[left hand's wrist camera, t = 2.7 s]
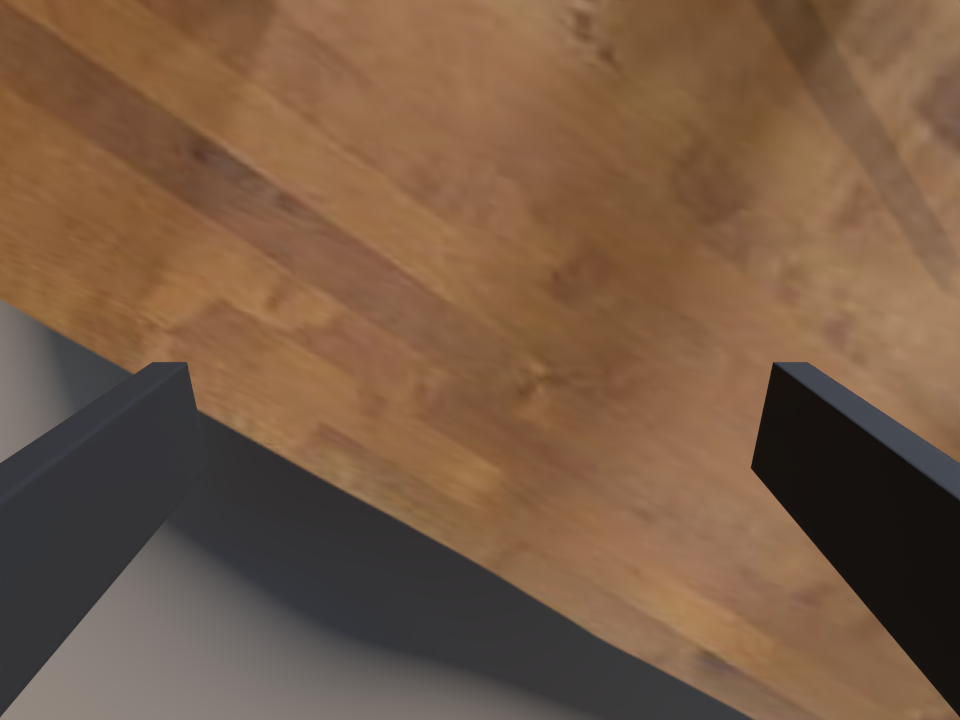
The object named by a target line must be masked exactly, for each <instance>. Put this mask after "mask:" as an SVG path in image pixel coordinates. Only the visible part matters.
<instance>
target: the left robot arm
mask: <svg viewBox="0 0 960 720" xmlns="http://www.w3.org/2000/svg"><path fill="white" fill-rule="evenodd" d="M208 469H209V465H208V460H207V455H206V451H205V446H204V441H203V436H202V432H201V427H200V423H199V418H198V413H197V408H196V403H195V398H194V394H193V389H192V384H191V380H190V375H189V370H188V365H187V362H152V363H151V364H149V365H148V366H146V367H145V368H143V369H142V370H140V371H139V372H137V373H136V374H134V375H133V376H131V377H130V378H128V379H127V380H125V381H124V382H122V383H121V384H119V385H118V386H116V387H115V388H113V389H112V390H110V391H109V392H107V393H106V394H104V395H103V396H101V397H100V398H98V399H97V400H95V401H94V402H92V403H91V404H89V405H88V406H86V407H85V408H83V409H81V410H80V411H78V412H77V413H75V414H74V415H73V416H71V417H70V418H68V419H66V420H65V421H64V422H62V423H60V424H59V425H57V426H56V427H54V428H53V429H51V430H50V431H48V432H47V433H45V434H44V435H42V436H41V437H39V438H38V439H36V440H35V441H33V442H32V443H30V444H29V445H27V446H26V447H24V448H23V449H21V450H20V451H18V452H17V453H15V454H14V455H12V456H11V457H9V458H8V459H6V460H5V461H3V462H2V463H0V717H1V716H2V714H3V713H4V712H5V711H6V710H7V708H8V707H9V706H10V705H11V704H12V702H13V701H14V700H15V699H16V698H17V697H18V695H19V694H20V693H21V692H22V691H23V689H24V688H25V687H26V686H27V685H28V683H29V682H30V681H31V680H32V679H33V677H34V676H35V675H36V674H37V673H38V671H39V670H40V669H41V668H42V667H43V666H44V664H45V663H46V662H47V661H48V660H49V658H50V657H51V656H52V655H53V653H54V652H55V651H56V650H57V649H58V648H59V646H60V645H61V644H62V643H63V642H64V640H65V639H66V638H67V637H68V636H69V634H70V633H71V632H72V631H73V630H74V629H75V627H76V626H77V625H78V624H79V623H80V621H81V620H82V619H83V618H84V617H85V615H86V614H87V613H88V612H89V611H90V609H91V608H92V607H93V606H94V605H95V604H96V602H97V601H98V600H99V599H100V598H101V596H102V595H103V594H104V593H105V592H106V590H107V589H108V588H109V587H110V586H111V584H112V583H113V582H114V581H115V580H116V578H117V577H118V576H119V575H120V574H121V573H122V571H123V570H124V569H125V568H126V567H127V565H128V564H129V563H130V562H131V561H132V559H133V558H134V557H135V556H136V555H137V553H138V552H139V551H140V550H141V549H142V547H143V546H144V545H145V544H146V543H147V541H148V540H149V539H150V538H151V537H152V536H153V534H154V533H155V532H156V531H157V530H158V528H159V527H160V526H161V525H162V524H163V522H164V521H165V520H166V519H167V518H168V516H169V515H170V514H171V513H172V512H173V511H174V509H175V508H176V507H177V506H178V505H179V503H180V502H181V501H182V500H183V499H184V497H185V496H186V495H187V494H188V493H189V491H190V490H191V489H192V488H193V487H194V485H195V484H196V483H197V482H198V481H199V480H200V478H201V477H202V476H203V475H204V474H205V472H206V471H207V470H208ZM751 469H752V470H753V471H754V472H755V474H756V475H757V476H758V477H759V478H760V480H761V481H762V482H763V483H764V484H765V486H766V487H767V488H768V489H769V490H770V491H771V493H772V494H773V495H774V496H775V497H776V499H777V500H778V501H779V502H780V503H781V505H782V506H783V507H784V508H785V509H786V511H787V512H788V513H789V514H790V515H791V517H792V518H793V519H794V520H795V521H796V522H797V524H798V525H799V526H800V527H801V528H802V530H803V531H804V532H805V533H806V534H807V536H808V537H809V538H810V539H811V540H812V542H813V543H814V544H815V545H816V546H817V548H818V549H819V550H820V551H821V552H822V553H823V555H824V556H825V557H826V558H827V559H828V561H829V562H830V563H831V564H832V565H833V567H834V568H835V569H836V570H837V571H838V573H839V574H840V575H841V576H842V577H843V578H844V580H845V581H846V582H847V583H848V584H849V586H850V587H851V588H852V589H853V590H854V592H855V593H856V594H857V595H858V596H859V598H860V599H861V600H862V601H863V602H864V604H865V605H866V606H867V607H868V608H869V609H870V611H871V612H872V613H873V614H874V615H875V617H876V618H877V619H878V620H879V621H880V623H881V624H882V625H883V626H884V627H885V629H886V630H887V631H888V632H889V633H890V635H891V636H892V637H893V638H894V639H895V640H896V642H897V643H898V644H899V645H900V646H901V648H902V649H903V650H904V651H905V652H906V654H907V655H908V656H909V657H910V658H911V660H912V661H913V662H914V663H915V664H916V666H917V667H918V668H919V669H920V670H921V671H922V673H923V674H924V675H925V676H926V677H927V679H928V680H929V681H930V682H931V683H932V685H933V686H934V687H935V688H936V689H937V691H938V692H939V693H940V694H941V695H942V697H943V698H944V699H945V700H946V701H947V702H948V704H949V705H950V706H951V707H952V708H953V710H954V711H955V712H956V713H957V714H958V716H959V717H960V463H958V462H957V461H955V460H954V459H952V458H951V457H949V456H948V455H946V454H945V453H943V452H942V451H940V450H939V449H937V448H936V447H934V446H933V445H931V444H930V443H928V442H927V441H925V440H924V439H922V438H921V437H919V436H918V435H916V434H915V433H913V432H912V431H910V430H909V429H907V428H906V427H904V426H903V425H901V424H900V423H898V422H897V421H895V420H894V419H892V418H891V417H889V416H888V415H886V414H885V413H883V412H882V411H880V410H879V409H877V408H875V407H874V406H872V405H871V404H869V403H868V402H866V401H865V400H863V399H862V398H860V397H859V396H857V395H856V394H854V393H853V392H851V391H850V390H848V389H847V388H845V387H844V386H842V385H841V384H839V383H838V382H836V381H835V380H833V379H832V378H830V377H829V376H827V375H826V374H824V373H823V372H821V371H820V370H818V369H817V368H815V367H814V366H812V365H811V364H809V363H808V362H773V365H772V370H771V375H770V380H769V384H768V389H767V394H766V398H765V403H764V408H763V413H762V417H761V422H760V427H759V432H758V436H757V441H756V446H755V451H754V455H753V460H752V465H751Z"/></svg>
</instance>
